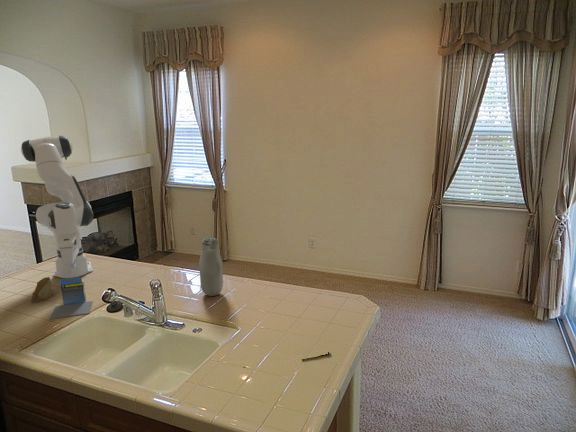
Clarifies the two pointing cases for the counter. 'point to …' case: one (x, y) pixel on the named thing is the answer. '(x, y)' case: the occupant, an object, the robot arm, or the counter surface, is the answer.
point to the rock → (42, 290)
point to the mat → (71, 310)
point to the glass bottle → (211, 267)
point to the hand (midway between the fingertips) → (73, 267)
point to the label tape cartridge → (73, 291)
